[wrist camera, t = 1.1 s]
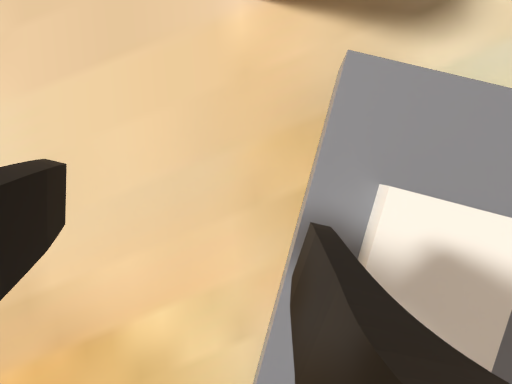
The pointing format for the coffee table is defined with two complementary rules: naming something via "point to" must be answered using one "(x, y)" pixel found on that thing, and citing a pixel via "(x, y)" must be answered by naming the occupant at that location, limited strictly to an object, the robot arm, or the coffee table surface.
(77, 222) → the coffee table surface
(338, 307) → the robot arm
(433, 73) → the deck
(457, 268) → the cream white tile
